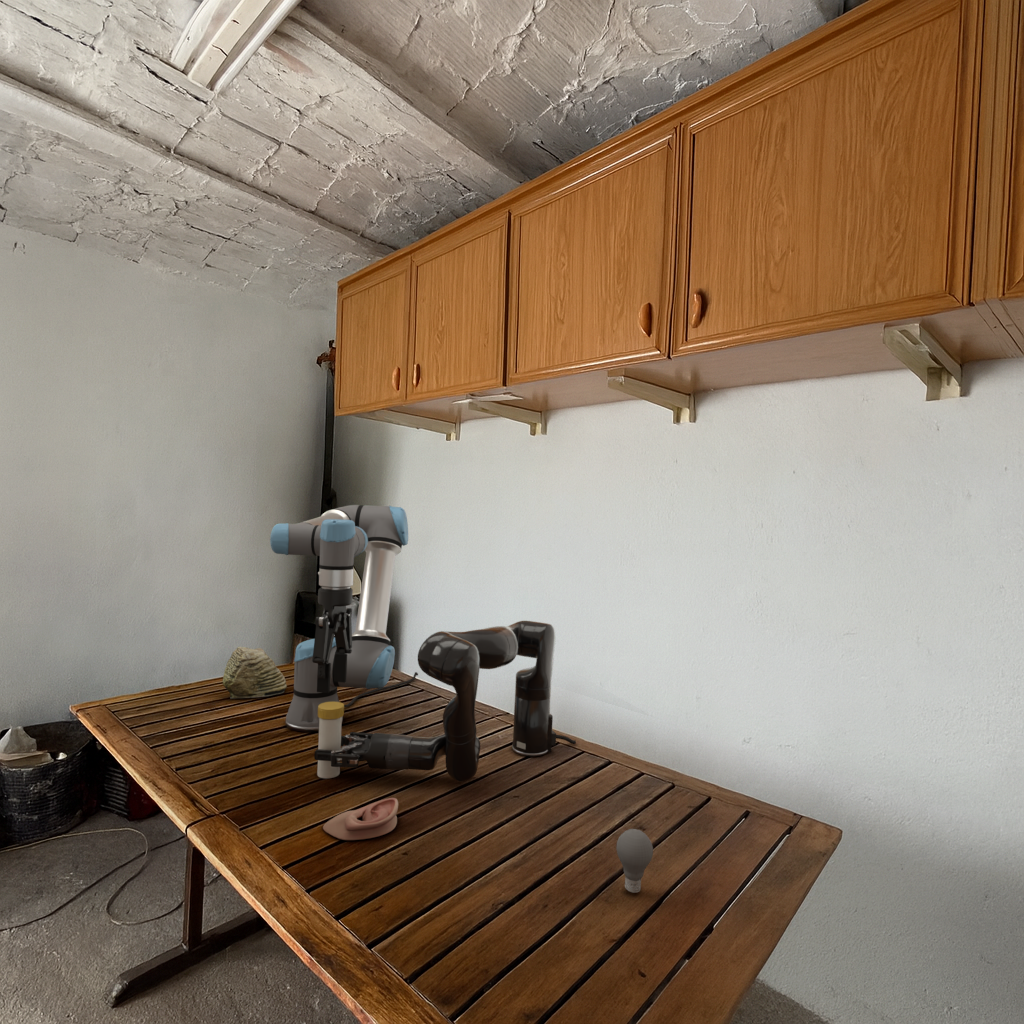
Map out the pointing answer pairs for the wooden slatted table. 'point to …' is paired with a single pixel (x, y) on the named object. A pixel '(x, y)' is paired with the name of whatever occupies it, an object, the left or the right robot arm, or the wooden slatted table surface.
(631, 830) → the light bulb
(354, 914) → the wooden slatted table surface
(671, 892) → the wooden slatted table surface
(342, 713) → the lid
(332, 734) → the bottle
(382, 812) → the anatomical model
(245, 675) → the fossil
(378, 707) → the wooden slatted table surface
